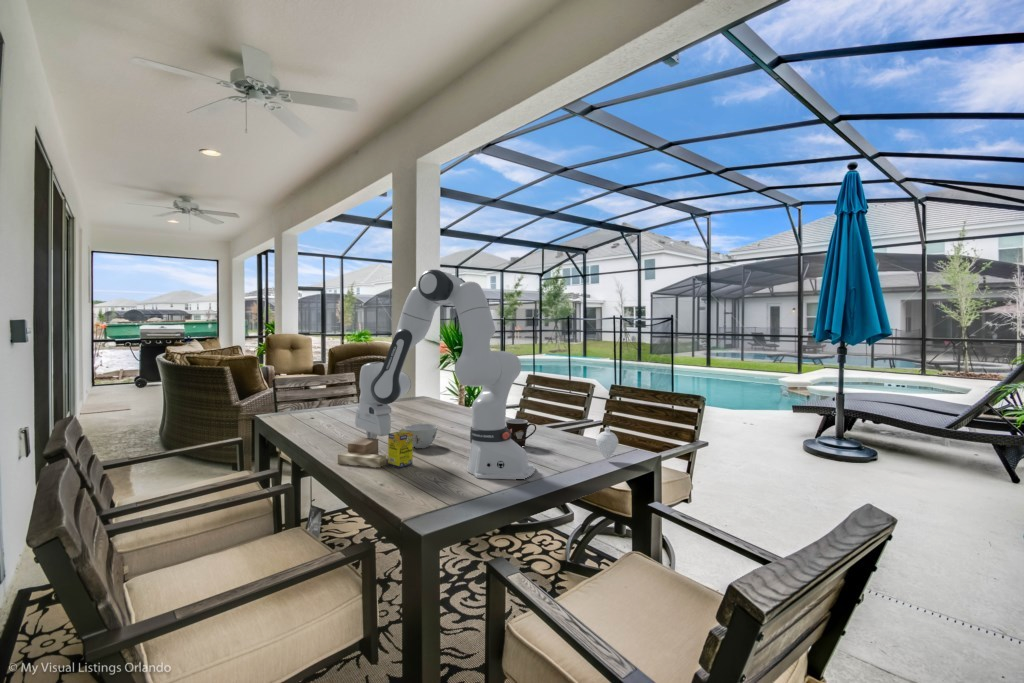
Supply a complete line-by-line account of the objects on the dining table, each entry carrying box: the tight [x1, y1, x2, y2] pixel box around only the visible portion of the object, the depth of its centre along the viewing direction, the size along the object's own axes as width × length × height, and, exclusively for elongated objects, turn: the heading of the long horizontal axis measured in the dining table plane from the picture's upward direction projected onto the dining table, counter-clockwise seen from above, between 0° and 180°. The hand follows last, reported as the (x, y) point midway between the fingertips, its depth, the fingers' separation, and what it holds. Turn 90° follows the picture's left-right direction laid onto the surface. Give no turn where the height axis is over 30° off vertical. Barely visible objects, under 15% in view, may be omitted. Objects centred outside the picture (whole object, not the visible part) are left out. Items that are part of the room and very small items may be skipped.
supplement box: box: [387, 430, 414, 469], centre depth 158 cm, size 6×6×11 cm
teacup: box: [399, 423, 439, 449], centre depth 182 cm, size 15×12×8 cm
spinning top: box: [595, 427, 619, 460], centre depth 164 cm, size 8×8×12 cm
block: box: [347, 437, 379, 455], centre depth 165 cm, size 7×8×6 cm
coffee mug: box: [505, 418, 537, 447], centre depth 183 cm, size 12×9×10 cm
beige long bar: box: [337, 451, 387, 468], centre depth 159 cm, size 16×4×3 cm, turn 75°
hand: (371, 443), depth 171 cm, fingers closed
